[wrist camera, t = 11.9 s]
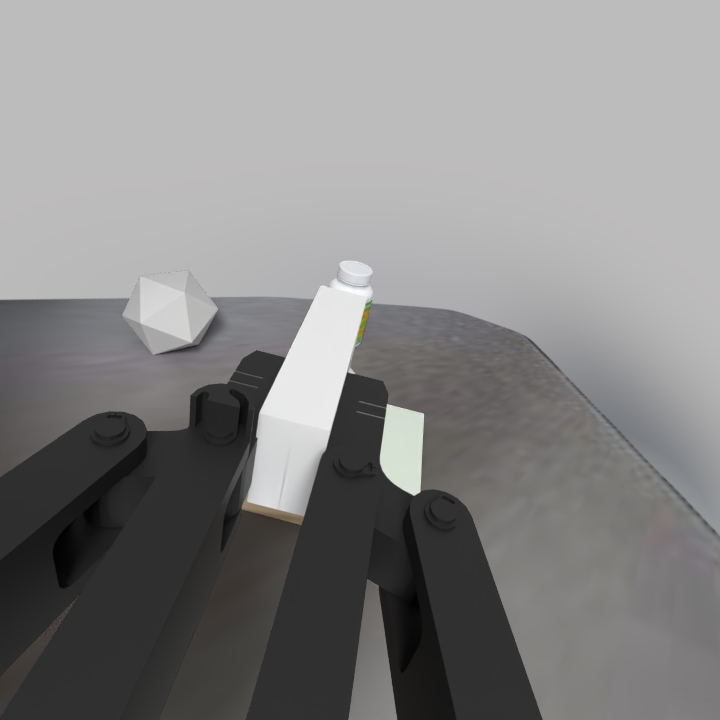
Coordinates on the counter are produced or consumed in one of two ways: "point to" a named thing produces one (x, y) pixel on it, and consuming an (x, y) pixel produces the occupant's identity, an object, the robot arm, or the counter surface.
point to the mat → (402, 448)
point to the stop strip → (272, 512)
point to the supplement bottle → (355, 286)
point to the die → (169, 311)
